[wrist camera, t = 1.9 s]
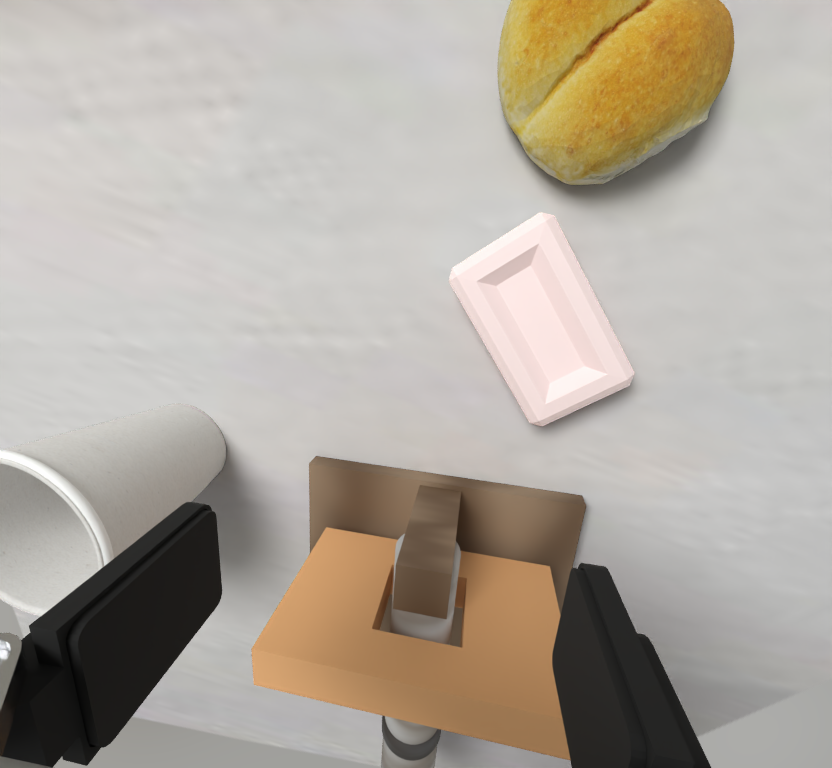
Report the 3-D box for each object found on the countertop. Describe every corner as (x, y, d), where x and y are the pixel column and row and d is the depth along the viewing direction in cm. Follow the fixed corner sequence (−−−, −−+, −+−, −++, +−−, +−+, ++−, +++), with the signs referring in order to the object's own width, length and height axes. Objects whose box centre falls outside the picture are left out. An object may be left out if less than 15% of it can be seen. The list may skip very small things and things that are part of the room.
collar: (549, 566, 22) (583, 723, 14) (543, 594, 22) (573, 760, 15) (326, 527, 24) (251, 648, 16) (326, 554, 24) (253, 684, 17)
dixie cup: (270, 459, 25) (143, 572, 16) (193, 519, 28) (43, 647, 19) (180, 357, 24) (-12, 413, 15) (108, 429, 27) (-95, 516, 18)
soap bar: (529, 415, 22) (535, 433, 20) (447, 272, 21) (443, 273, 18) (624, 370, 21) (641, 383, 18) (543, 212, 19) (551, 204, 17)
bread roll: (644, -112, 15) (696, -236, 12) (732, 107, 17) (804, 61, 13) (459, 37, 18) (452, -26, 14) (550, 219, 19) (567, 207, 15)
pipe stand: (581, 495, 23) (627, 602, 15) (530, 728, 28) (545, 886, 21) (315, 456, 25) (246, 533, 18) (316, 679, 30) (264, 806, 23)
